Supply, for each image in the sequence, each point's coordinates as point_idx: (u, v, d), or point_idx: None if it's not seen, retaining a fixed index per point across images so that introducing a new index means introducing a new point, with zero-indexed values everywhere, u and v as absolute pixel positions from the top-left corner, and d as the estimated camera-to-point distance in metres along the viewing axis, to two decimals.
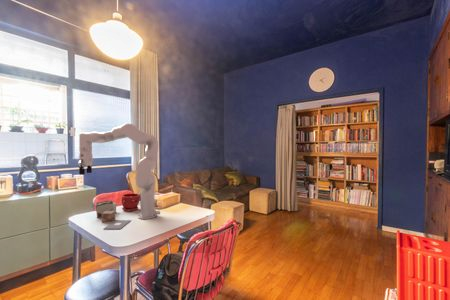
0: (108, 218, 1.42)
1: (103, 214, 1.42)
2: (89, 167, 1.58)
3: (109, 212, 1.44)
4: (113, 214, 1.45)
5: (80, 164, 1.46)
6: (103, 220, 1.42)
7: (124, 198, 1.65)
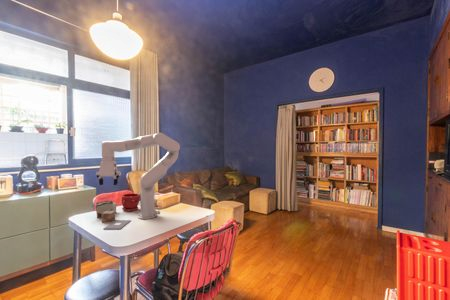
0: (108, 218, 1.42)
1: (103, 214, 1.42)
2: (101, 178, 1.46)
3: (109, 212, 1.44)
4: (113, 214, 1.45)
5: (120, 174, 1.46)
6: (103, 220, 1.42)
7: (124, 198, 1.65)
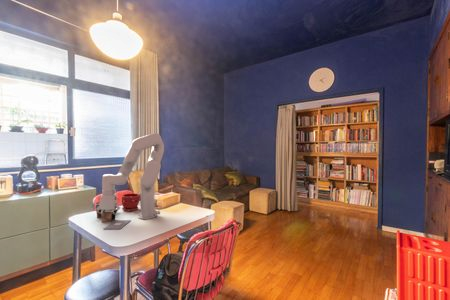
0: (108, 218, 1.42)
1: (103, 214, 1.42)
2: None
3: (109, 212, 1.44)
4: None
5: None
6: (103, 220, 1.42)
7: (124, 198, 1.65)
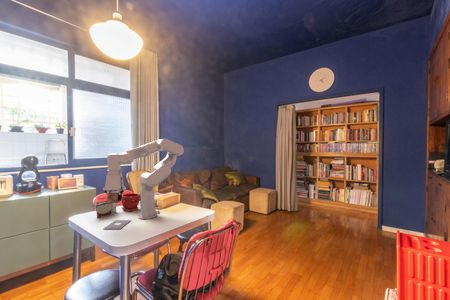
0: (114, 199, 1.37)
1: (109, 194, 1.37)
2: None
3: (115, 192, 1.39)
4: None
5: (125, 189, 1.40)
6: (109, 200, 1.37)
7: (124, 198, 1.65)
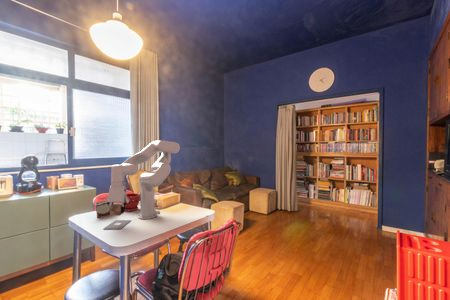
0: (117, 211, 1.34)
1: (112, 206, 1.34)
2: None
3: (118, 204, 1.36)
4: None
5: (128, 201, 1.37)
6: (111, 213, 1.34)
7: None
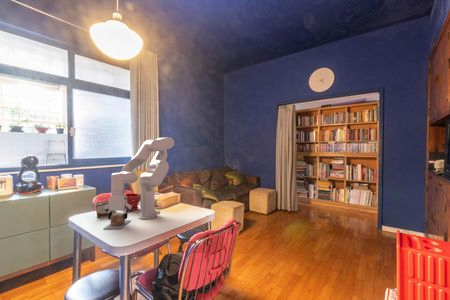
0: (117, 221, 1.34)
1: (112, 217, 1.34)
2: (110, 212, 1.37)
3: (118, 214, 1.36)
4: (122, 217, 1.38)
5: (130, 207, 1.38)
6: (112, 223, 1.34)
7: None
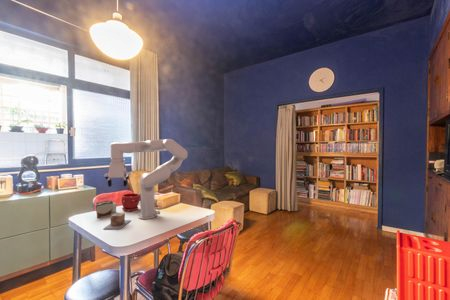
0: (117, 221, 1.34)
1: (112, 217, 1.34)
2: (110, 180, 1.45)
3: (118, 214, 1.36)
4: (122, 217, 1.38)
5: None
6: (112, 223, 1.34)
7: (124, 198, 1.65)
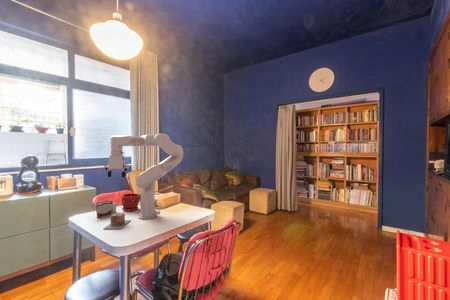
0: (117, 221, 1.34)
1: (112, 217, 1.34)
2: (110, 171, 1.54)
3: (118, 214, 1.36)
4: (122, 217, 1.38)
5: None
6: (112, 223, 1.34)
7: (124, 198, 1.65)
